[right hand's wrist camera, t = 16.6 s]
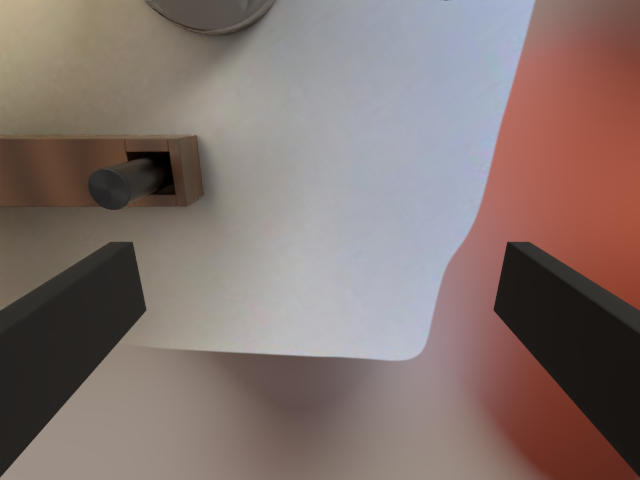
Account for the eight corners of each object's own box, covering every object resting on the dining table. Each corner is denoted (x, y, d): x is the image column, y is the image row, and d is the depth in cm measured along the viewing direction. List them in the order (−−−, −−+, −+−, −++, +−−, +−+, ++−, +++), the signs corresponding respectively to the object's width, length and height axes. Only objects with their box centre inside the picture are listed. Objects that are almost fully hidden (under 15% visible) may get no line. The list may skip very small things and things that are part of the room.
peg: (155, 150, 37) (82, 168, 26) (185, 150, 37) (125, 168, 26) (159, 180, 38) (92, 210, 27) (189, 180, 38) (133, 210, 27)
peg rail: (-30, 195, 38) (-78, 206, 34) (-52, 135, 36) (-107, 138, 32) (203, 195, 38) (187, 206, 34) (196, 135, 36) (177, 138, 32)
